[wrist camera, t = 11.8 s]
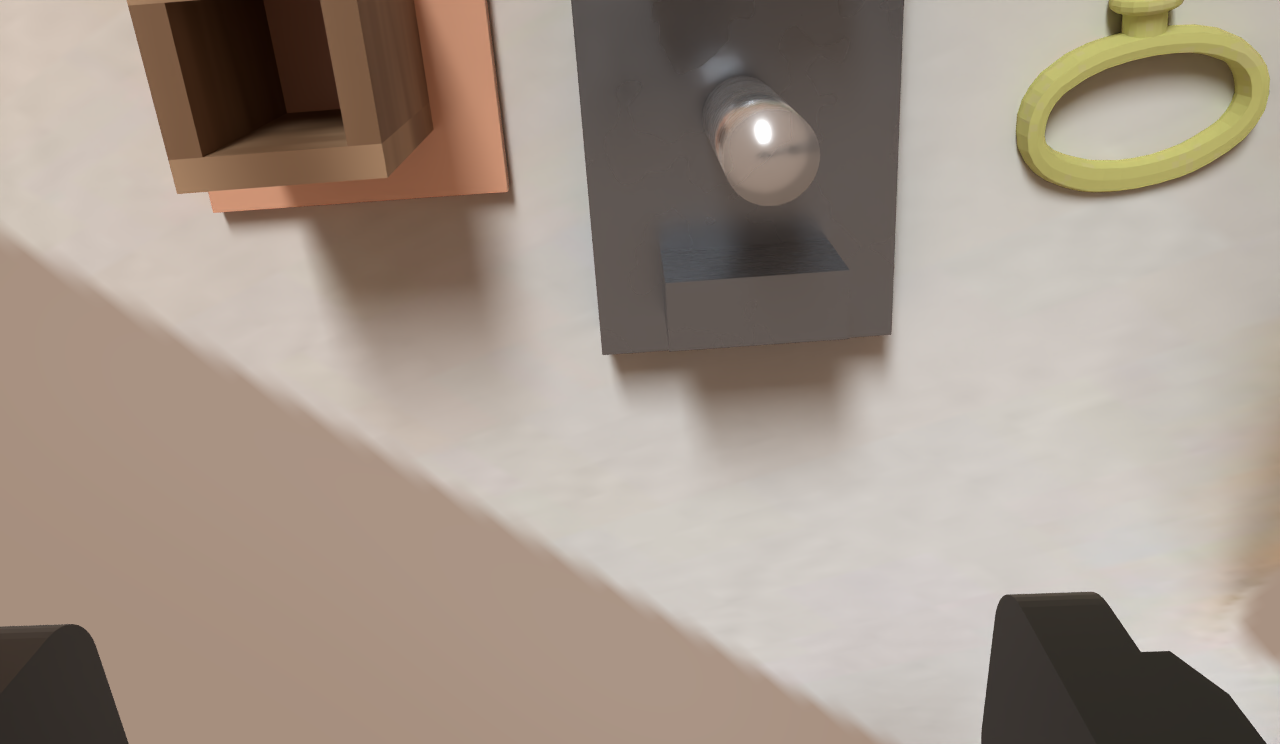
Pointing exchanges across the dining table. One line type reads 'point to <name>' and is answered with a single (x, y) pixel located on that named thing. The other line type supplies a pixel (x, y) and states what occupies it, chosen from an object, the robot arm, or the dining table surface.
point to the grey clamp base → (740, 168)
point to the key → (1140, 37)
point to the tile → (458, 95)
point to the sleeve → (280, 94)
